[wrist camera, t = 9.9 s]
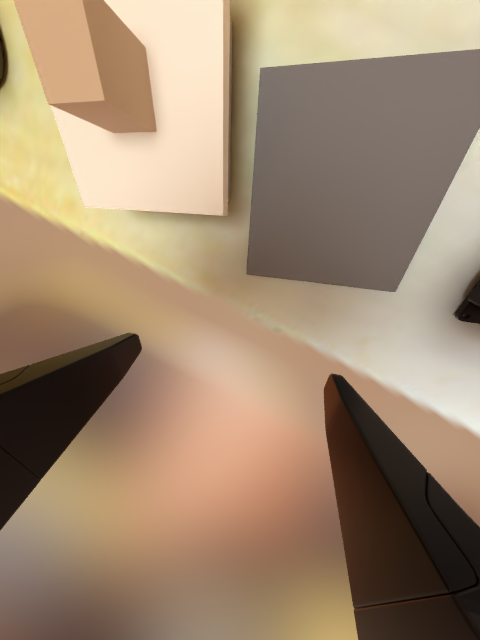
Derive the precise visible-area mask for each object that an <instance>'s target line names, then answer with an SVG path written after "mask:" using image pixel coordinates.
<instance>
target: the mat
mask: <svg viewBox="0 0 480 640" xmlns="http://www.w3.org/2000/svg"><path fill="white" fill-rule="evenodd" d="M479 128H480V49H476V50H464V51H453V52H441V53H429V54H418V55H406V56H395V57H383V58H371V59H360V60H348V61H336V62H325V63H313V64H302V65H290V66H278V67H267V68H260V83H259V98H258V113H257V127H256V142H255V157H254V172H253V187H252V201H251V216H250V231H249V246H248V260H247V274H249V275H257V276H265V277H273V278H282V279H290V280H298V281H307V282H315V283H323V284H332V285H340V286H348V287H357V288H365V289H373V290H381V291H390V292H395V291H396V290H397V288H398V286H399V284H400V282H401V280H402V278H403V276H404V274H405V272H406V270H407V268H408V266H409V264H410V262H411V260H412V258H413V256H414V254H415V252H416V251H417V249H418V247H419V245H420V243H421V241H422V239H423V237H424V235H425V233H426V231H427V229H428V227H429V225H430V223H431V221H432V219H433V217H434V215H435V213H436V211H437V210H438V208H439V206H440V204H441V202H442V200H443V198H444V196H445V194H446V192H447V190H448V188H449V186H450V184H451V182H452V180H453V178H454V176H455V174H456V172H457V170H458V169H459V167H460V165H461V163H462V161H463V159H464V157H465V155H466V153H467V151H468V149H469V147H470V145H471V143H472V141H473V139H474V137H475V135H476V133H477V131H478V130H479Z"/></svg>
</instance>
